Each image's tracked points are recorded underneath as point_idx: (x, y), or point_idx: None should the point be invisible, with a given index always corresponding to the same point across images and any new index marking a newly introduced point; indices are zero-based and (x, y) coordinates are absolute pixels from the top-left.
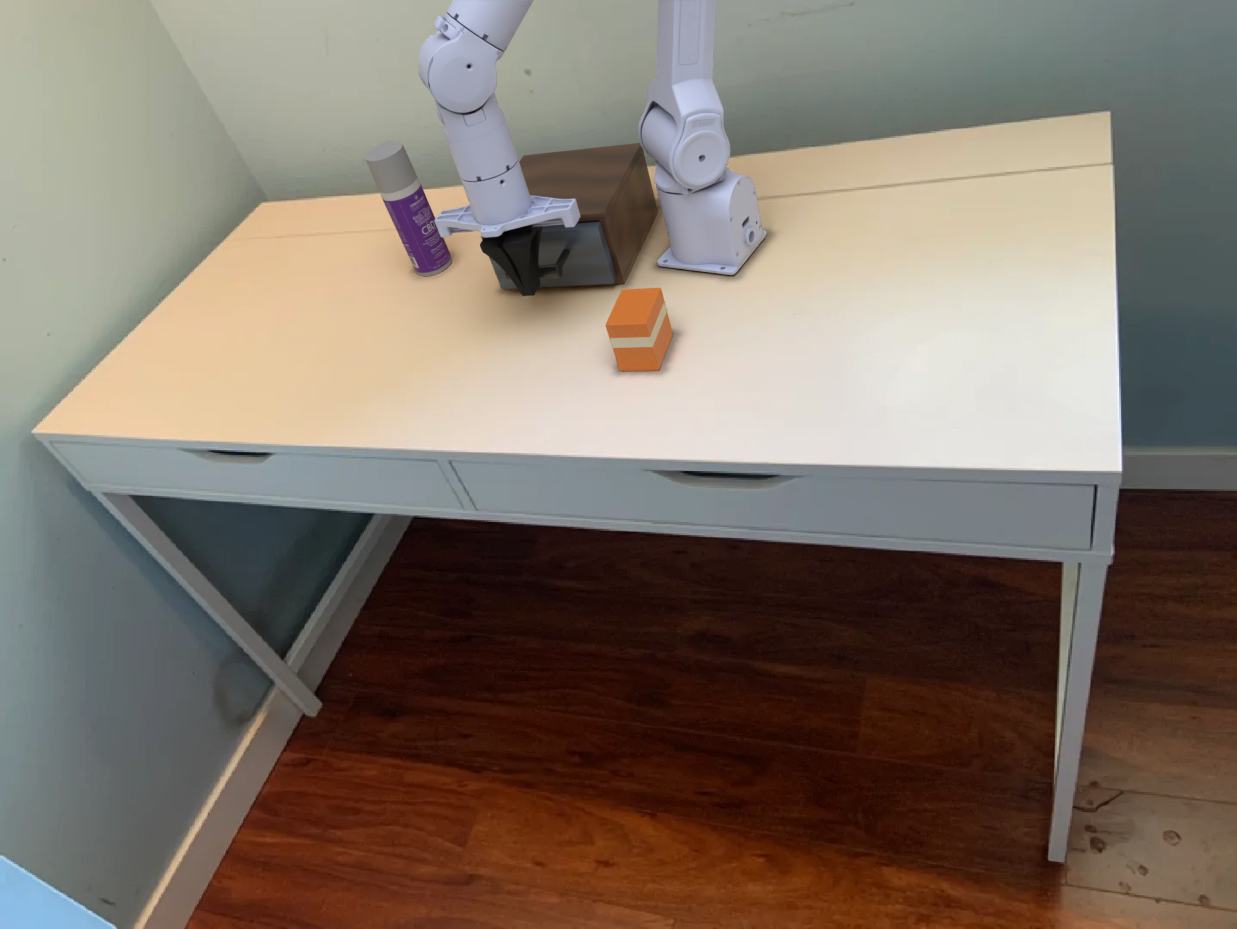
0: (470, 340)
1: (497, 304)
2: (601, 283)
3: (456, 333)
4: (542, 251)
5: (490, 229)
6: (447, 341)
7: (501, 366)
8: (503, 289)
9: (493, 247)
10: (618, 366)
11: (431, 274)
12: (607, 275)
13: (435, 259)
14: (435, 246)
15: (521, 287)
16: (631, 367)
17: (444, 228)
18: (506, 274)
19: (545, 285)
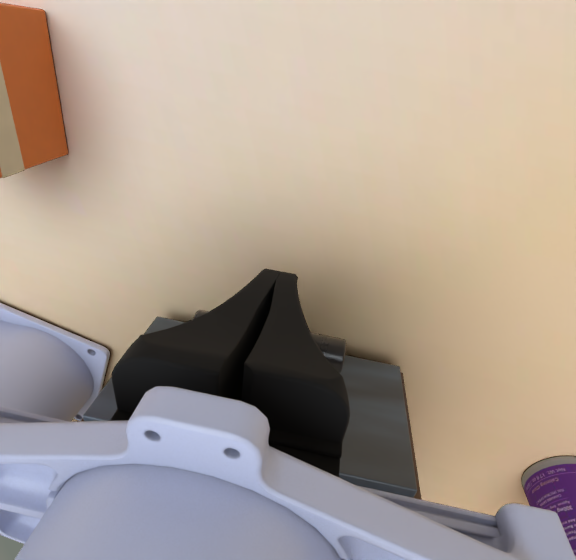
0: (470, 227)
1: (411, 334)
2: (180, 322)
3: (509, 262)
4: None
5: (185, 438)
6: (535, 237)
7: (371, 96)
8: (401, 373)
9: (273, 373)
10: (33, 8)
11: (569, 458)
12: (156, 329)
13: (560, 486)
14: (560, 515)
15: (281, 282)
16: (4, 3)
17: (536, 552)
18: (340, 349)
19: None
